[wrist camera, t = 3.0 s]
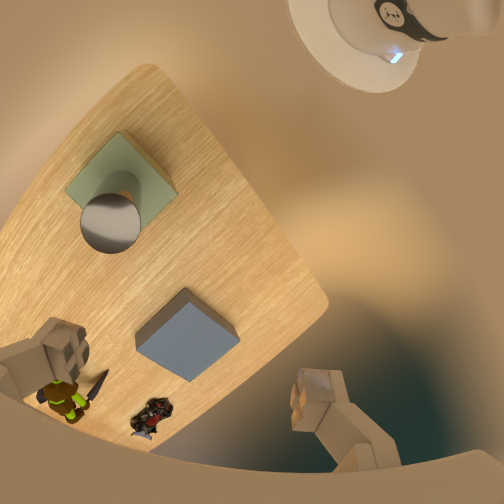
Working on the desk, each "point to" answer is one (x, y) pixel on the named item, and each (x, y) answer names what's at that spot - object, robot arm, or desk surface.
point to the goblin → (67, 398)
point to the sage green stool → (134, 161)
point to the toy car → (151, 417)
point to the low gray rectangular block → (186, 336)
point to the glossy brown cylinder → (113, 213)
